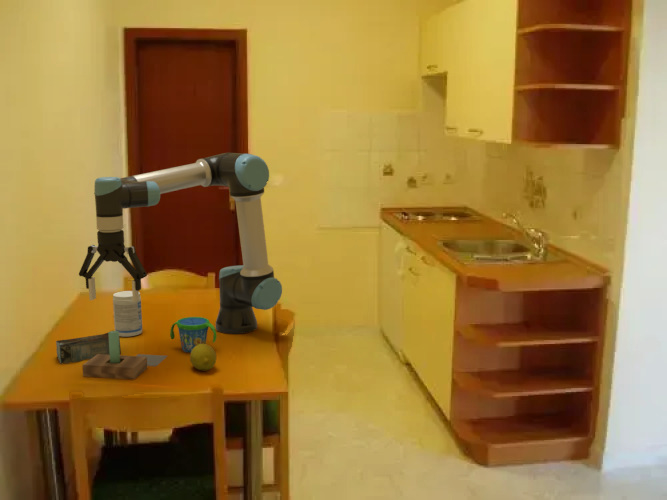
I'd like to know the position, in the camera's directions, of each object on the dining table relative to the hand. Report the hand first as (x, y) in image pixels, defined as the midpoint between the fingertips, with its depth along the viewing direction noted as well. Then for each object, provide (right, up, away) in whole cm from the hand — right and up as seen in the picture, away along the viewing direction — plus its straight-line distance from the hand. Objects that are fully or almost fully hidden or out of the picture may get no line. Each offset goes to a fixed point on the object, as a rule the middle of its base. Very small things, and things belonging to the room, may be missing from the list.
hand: (114, 300), depth 222 cm
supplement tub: (-8, -15, +43) cm, 46 cm away
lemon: (+25, -22, +7) cm, 34 cm away
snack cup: (+19, -19, +25) cm, 37 cm away
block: (0, -22, +3) cm, 23 cm away
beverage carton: (-14, -20, +19) cm, 30 cm away
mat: (+6, -20, +14) cm, 26 cm away
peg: (0, -22, +3) cm, 23 cm away
